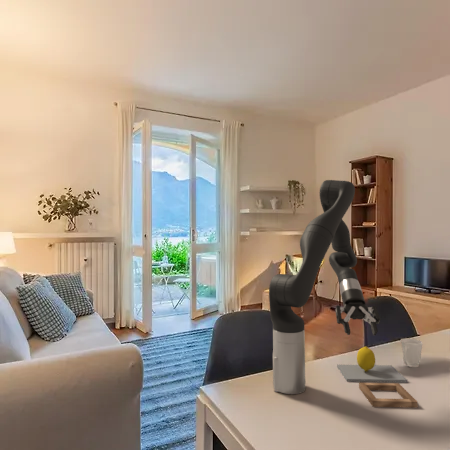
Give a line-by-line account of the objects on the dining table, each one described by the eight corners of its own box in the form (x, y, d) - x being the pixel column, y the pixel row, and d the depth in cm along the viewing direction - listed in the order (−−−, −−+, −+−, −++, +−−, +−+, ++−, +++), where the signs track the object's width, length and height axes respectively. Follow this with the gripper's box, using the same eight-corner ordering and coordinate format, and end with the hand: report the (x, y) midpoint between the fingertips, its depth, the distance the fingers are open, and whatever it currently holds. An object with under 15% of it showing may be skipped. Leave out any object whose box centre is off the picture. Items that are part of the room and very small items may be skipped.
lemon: (377, 375, 111) (376, 349, 111) (358, 374, 112) (358, 348, 113) (373, 368, 117) (373, 344, 117) (355, 367, 118) (355, 343, 118)
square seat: (372, 406, 93) (372, 400, 93) (359, 387, 104) (358, 382, 104) (417, 407, 92) (417, 401, 92) (398, 388, 104) (398, 383, 104)
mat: (346, 381, 109) (346, 379, 109) (337, 366, 121) (337, 364, 121) (407, 382, 108) (407, 379, 108) (391, 367, 120) (391, 365, 120)
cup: (426, 364, 122) (426, 340, 122) (416, 372, 115) (415, 347, 115) (405, 359, 127) (404, 336, 127) (393, 366, 120) (393, 342, 121)
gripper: (333, 287, 129) (342, 328, 117) (373, 287, 128) (386, 328, 116) (330, 299, 134) (338, 339, 122) (369, 299, 133) (381, 339, 121)
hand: (362, 333), depth 119 cm, fingers open, 8 cm apart
